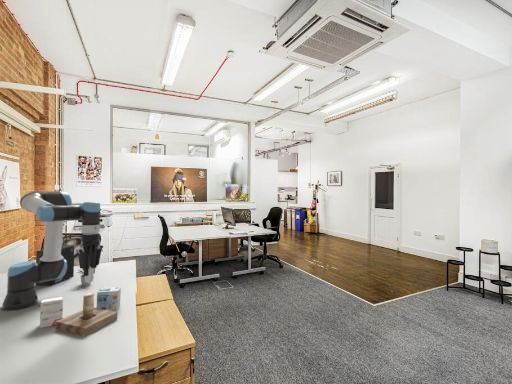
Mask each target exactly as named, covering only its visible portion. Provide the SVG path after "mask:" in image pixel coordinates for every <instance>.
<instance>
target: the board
mask: <svg viewBox="0 0 512 384" xmlns="http://www.w3.org/2000/svg"><path fill="white" fill-rule="evenodd" d="M116 320H118V311H110V310H104V309H99V308H97V307H94V312H93V317H92V318H90V319H88V320H85V319H83V309H82V310H79V311H78V312H75V313H73V314H71V315H68V316H65V317H63V319H61V320H58V321H56V325H55V330H56V331H57V330H58V331H62V332H66V331H67V332H66V333H70V332H71V334H75V335H79V336H83V337H86V336H88V335H89V334H91V333H93V332H95V331H97V330H99V329H100V328H103V327H105V326H106V325H108V324H110V323H113V322H114V321H116Z"/></svg>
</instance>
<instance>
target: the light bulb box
mask: <svg viewBox="0 0 512 384" xmlns="http://www.w3.org/2000/svg"><path fill="white" fill-rule="evenodd" d="M121 295H122V287H121V286H116V287H114V286H113V287H101V288H100V289H99V290H98V291H97V293H96V308H99V309H104V310H110V311H115V312H117V311H118V310H119V309H120V307H121ZM116 310H117V311H116Z"/></svg>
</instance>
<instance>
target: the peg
mask: <svg viewBox="0 0 512 384" xmlns="http://www.w3.org/2000/svg"><path fill="white" fill-rule="evenodd" d="M82 301H83V302H82V303H83V304H82V310H83V319H85V320H88V319H90V318H92V317H93V312H94V308H95V307H94V306H95V305H94V304H95V293H93V292H92V293H91V292H90V293H86V294H84V295H83V299H82Z"/></svg>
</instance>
